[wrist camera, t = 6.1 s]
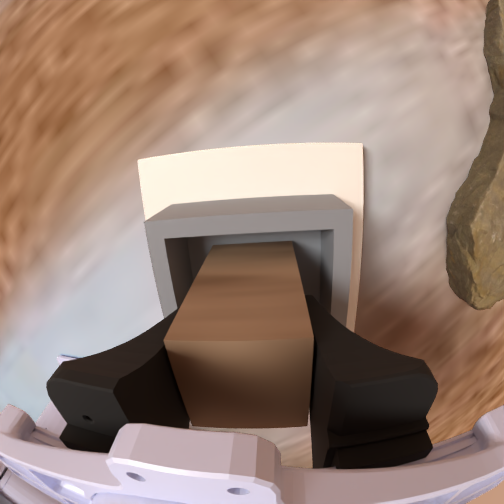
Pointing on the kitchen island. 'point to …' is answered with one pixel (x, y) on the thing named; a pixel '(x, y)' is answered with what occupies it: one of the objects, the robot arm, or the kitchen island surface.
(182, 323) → the walnut rail post
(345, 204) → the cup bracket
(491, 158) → the stone slab
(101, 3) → the kitchen island surface
